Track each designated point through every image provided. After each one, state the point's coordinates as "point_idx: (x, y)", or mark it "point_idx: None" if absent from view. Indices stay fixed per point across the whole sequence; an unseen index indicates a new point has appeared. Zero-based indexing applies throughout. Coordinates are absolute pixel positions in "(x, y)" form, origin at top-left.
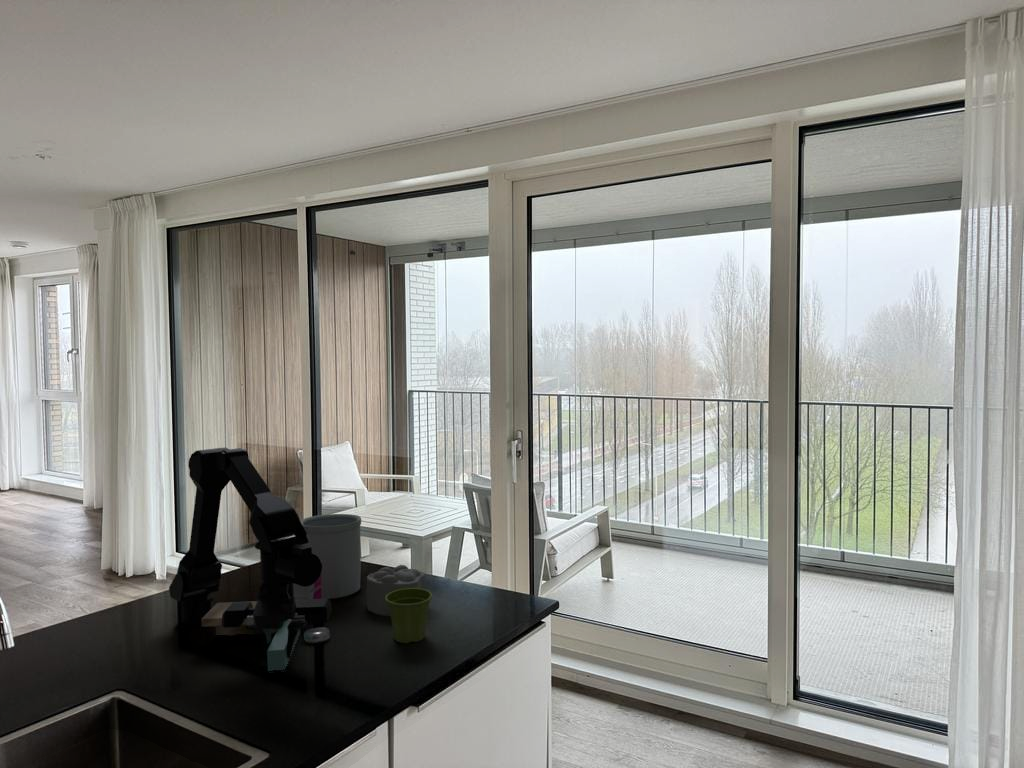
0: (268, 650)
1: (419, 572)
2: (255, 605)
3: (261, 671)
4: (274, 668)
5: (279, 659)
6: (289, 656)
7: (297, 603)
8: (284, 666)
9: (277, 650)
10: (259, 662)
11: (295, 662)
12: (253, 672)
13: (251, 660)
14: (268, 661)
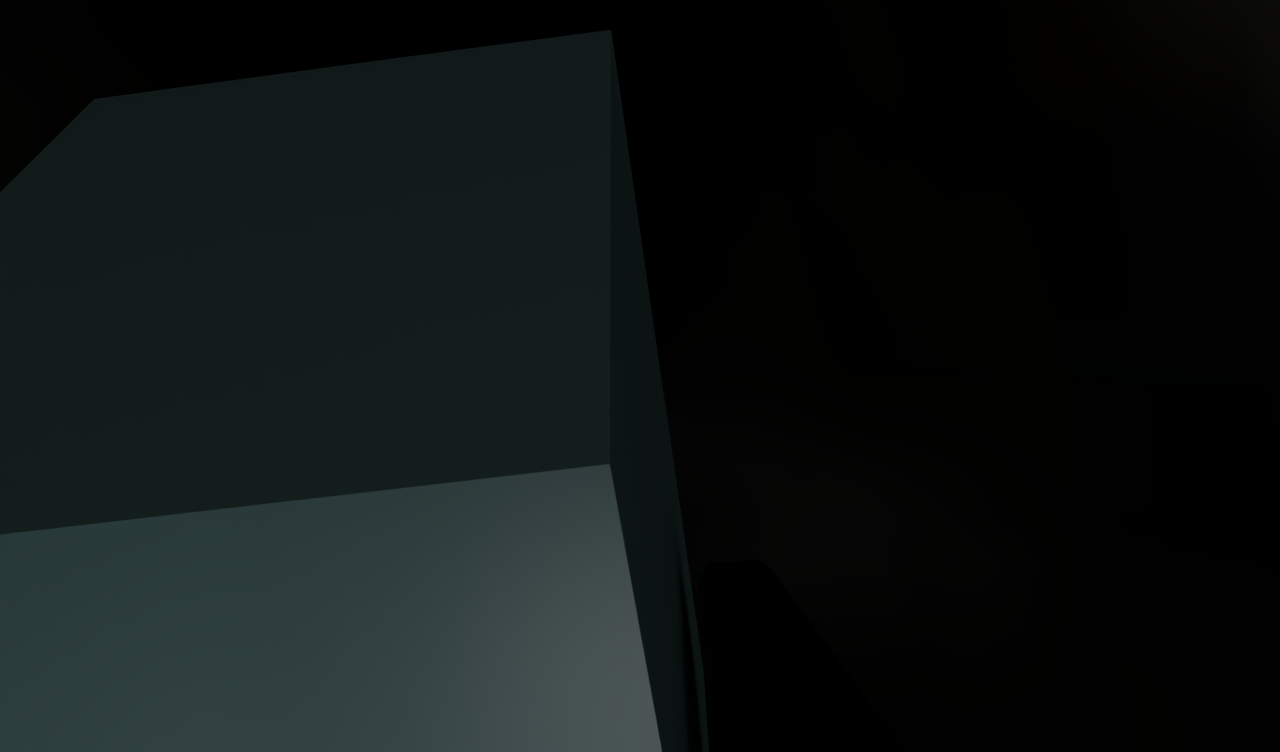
0: (544, 514)
1: None
2: None
3: (842, 112)
4: (388, 95)
5: (112, 265)
6: None
7: None
8: (54, 163)
9: (8, 522)
10: (1018, 593)
11: None
12: (1082, 54)
13: (1226, 680)
14: (569, 180)
